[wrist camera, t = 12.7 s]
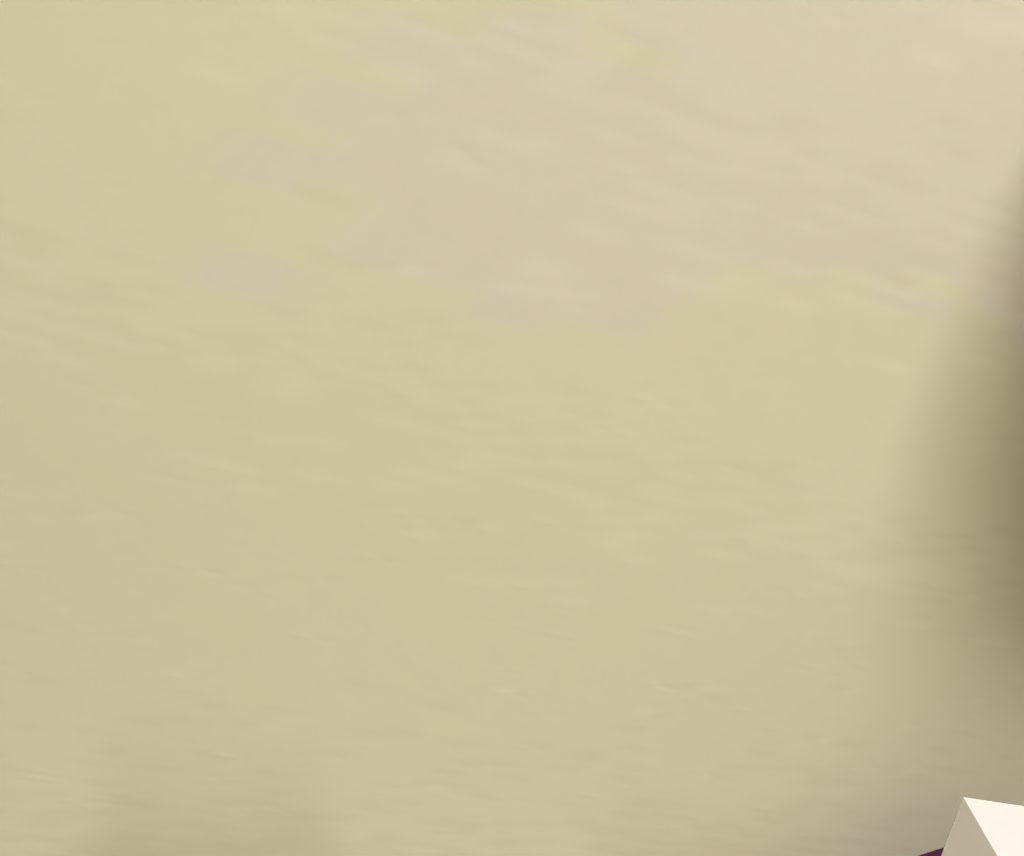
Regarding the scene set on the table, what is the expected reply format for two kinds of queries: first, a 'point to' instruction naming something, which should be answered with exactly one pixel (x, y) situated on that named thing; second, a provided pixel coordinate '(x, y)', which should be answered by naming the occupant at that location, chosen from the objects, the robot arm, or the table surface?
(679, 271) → the table surface
